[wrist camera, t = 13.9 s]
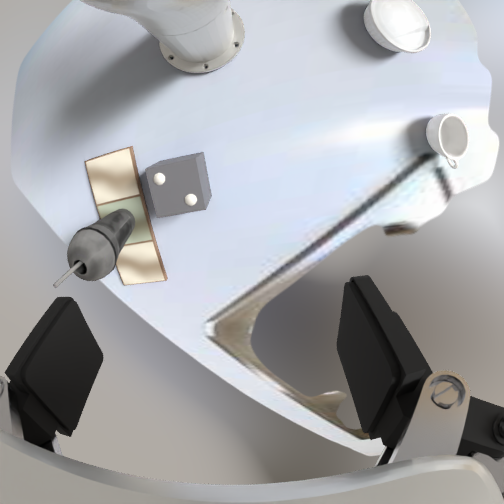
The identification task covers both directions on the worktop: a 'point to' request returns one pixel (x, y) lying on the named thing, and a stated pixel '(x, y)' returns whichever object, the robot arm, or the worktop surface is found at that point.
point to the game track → (131, 198)
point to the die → (179, 185)
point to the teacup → (448, 137)
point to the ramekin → (397, 25)
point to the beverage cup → (99, 246)
